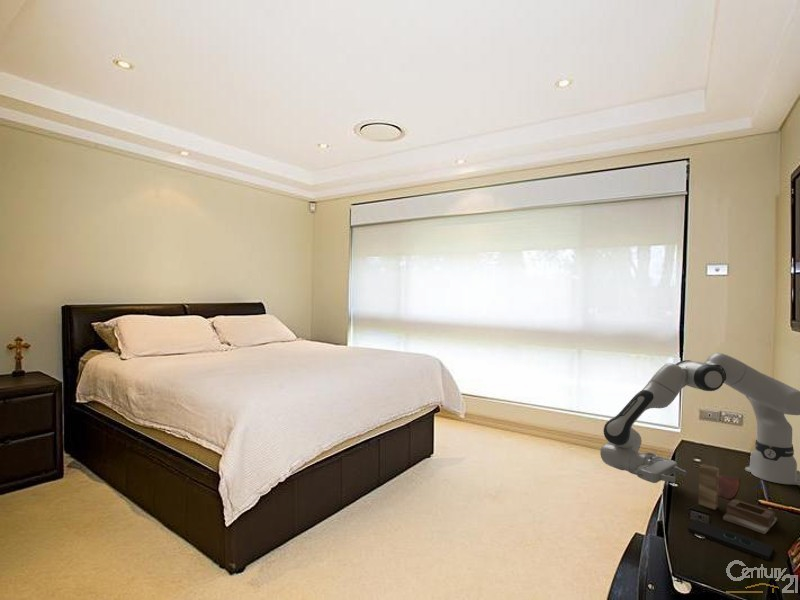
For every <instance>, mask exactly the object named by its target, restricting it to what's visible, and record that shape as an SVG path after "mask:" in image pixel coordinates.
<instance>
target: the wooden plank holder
mask: <svg viewBox="0 0 800 600" xmlns="http://www.w3.org/2000/svg"><path fill="white" fill-rule="evenodd" d="M775 515H776V514H775V511H773V510H771V509H768V508H764V507H761V506H758V505H756V504H755V505H754V504H752V503H748V502H745V501H741V500H739V499H736V498H732V499H731V500H730V502H728V503H727V504H726V513H725V514H724V515H723V516H722V520H724V521H726V522H729V523H732V524H736V525H737V526H741V527H743V528H747V529H749V530H752V531H755V532H756V533H759V534H763V535H766V533H767V532H768V531H770V529H771V528H772V527H773V526H774V524H775V523H776V522H777V521H778V517H775Z"/></svg>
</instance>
